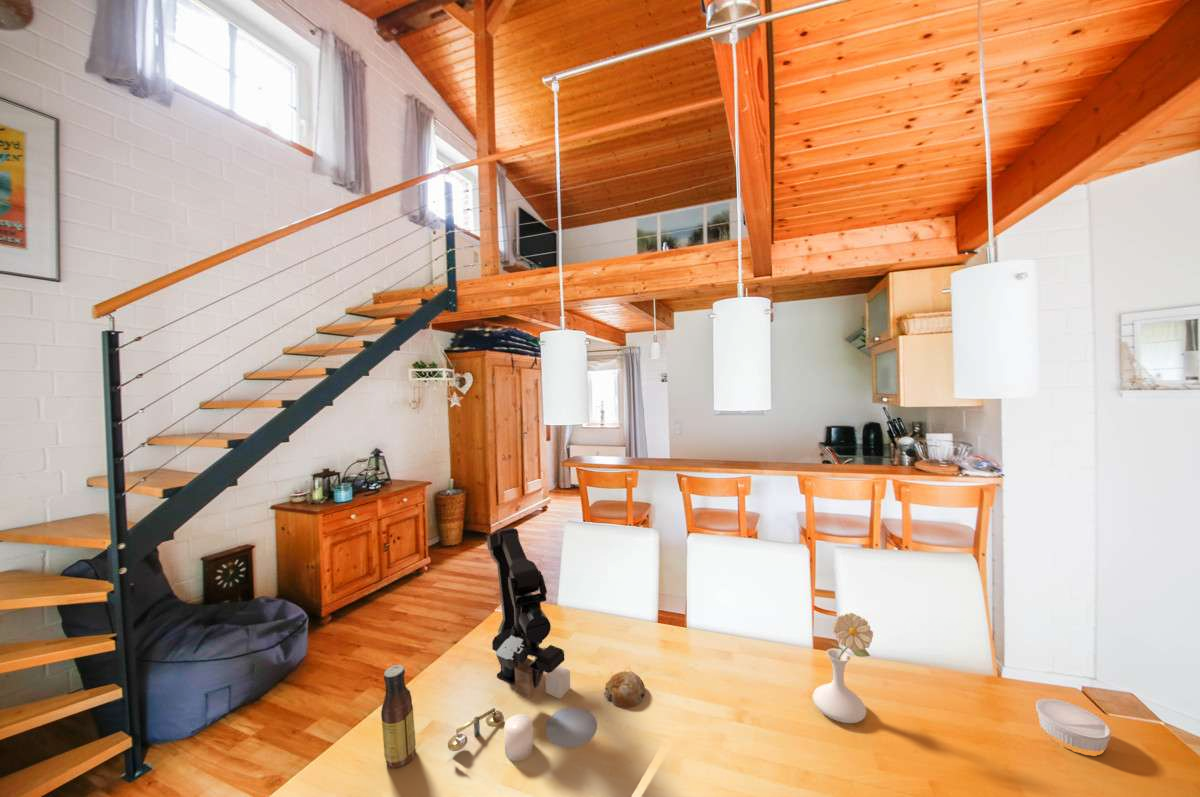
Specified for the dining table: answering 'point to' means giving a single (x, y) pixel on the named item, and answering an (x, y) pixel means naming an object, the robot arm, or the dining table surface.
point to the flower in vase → (836, 695)
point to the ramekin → (1073, 724)
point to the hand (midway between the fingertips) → (528, 683)
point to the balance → (461, 740)
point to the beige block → (558, 682)
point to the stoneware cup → (518, 737)
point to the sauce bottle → (397, 719)
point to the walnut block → (525, 680)
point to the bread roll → (625, 689)
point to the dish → (571, 727)
